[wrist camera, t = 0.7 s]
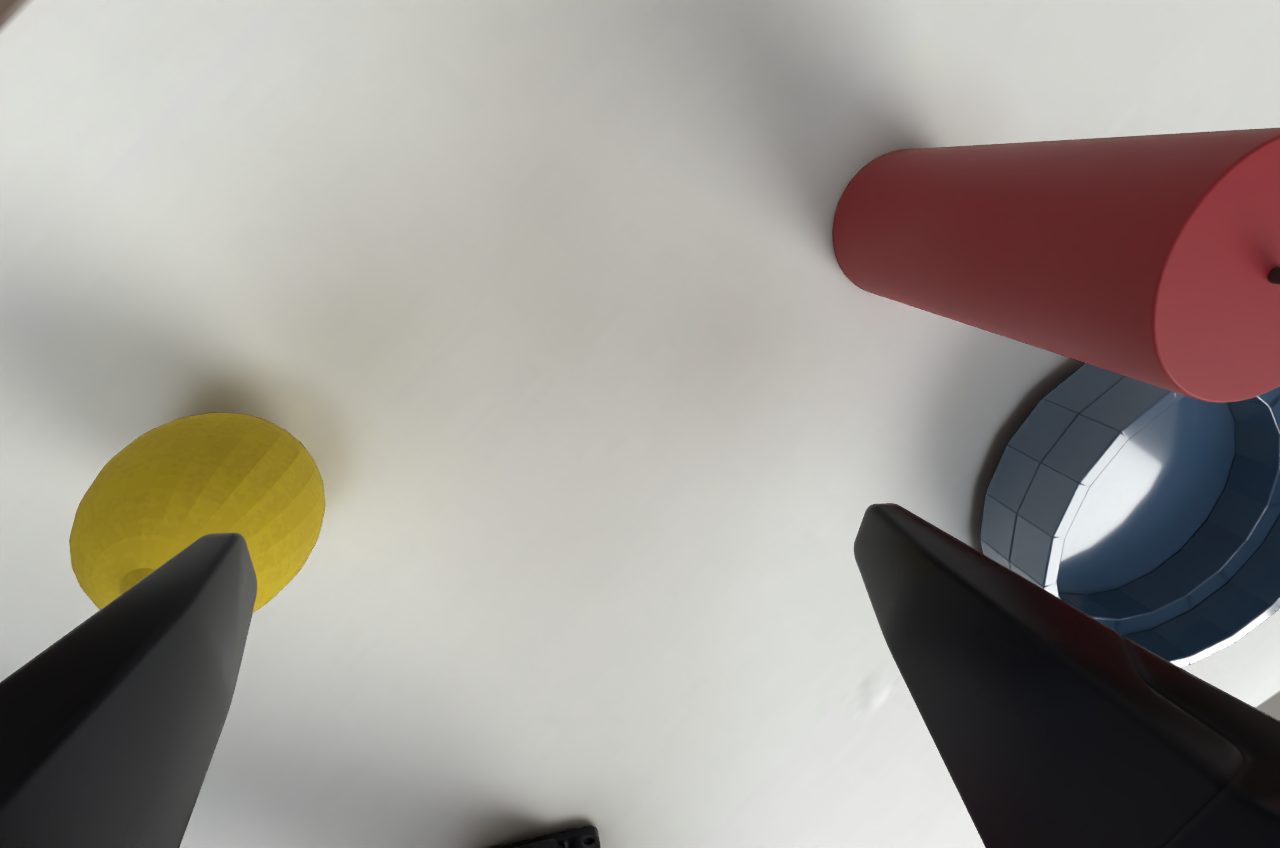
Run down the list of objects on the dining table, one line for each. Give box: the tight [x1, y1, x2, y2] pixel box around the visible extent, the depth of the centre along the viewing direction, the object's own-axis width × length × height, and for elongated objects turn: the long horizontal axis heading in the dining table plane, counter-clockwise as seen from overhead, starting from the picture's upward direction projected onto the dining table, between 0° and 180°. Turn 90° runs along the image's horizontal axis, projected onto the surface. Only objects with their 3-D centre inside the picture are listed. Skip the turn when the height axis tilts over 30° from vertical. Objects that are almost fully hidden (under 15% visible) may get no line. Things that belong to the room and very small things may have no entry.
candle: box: [833, 128, 1280, 403], centre depth 17 cm, size 5×5×14 cm
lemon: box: [69, 412, 325, 612], centre depth 18 cm, size 6×6×8 cm
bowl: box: [980, 363, 1280, 668], centre depth 28 cm, size 14×14×4 cm
